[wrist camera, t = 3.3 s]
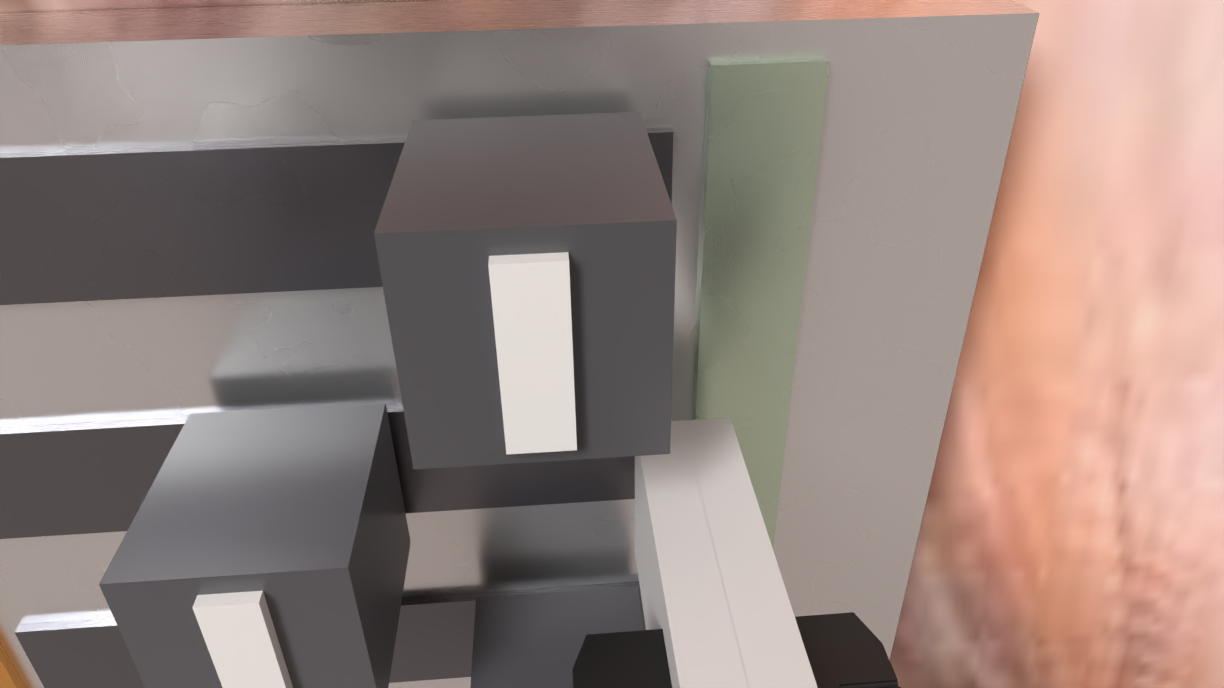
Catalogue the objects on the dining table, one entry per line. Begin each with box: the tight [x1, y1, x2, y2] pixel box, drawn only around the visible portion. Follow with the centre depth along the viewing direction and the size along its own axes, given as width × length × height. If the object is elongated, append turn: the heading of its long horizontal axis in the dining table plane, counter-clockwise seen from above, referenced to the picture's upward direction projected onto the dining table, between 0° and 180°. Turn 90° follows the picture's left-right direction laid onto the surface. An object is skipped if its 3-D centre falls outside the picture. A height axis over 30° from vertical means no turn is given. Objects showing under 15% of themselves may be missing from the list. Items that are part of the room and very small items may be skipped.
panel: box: [0, 0, 1039, 688], centre depth 16 cm, size 22×14×2 cm, turn 91°
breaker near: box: [374, 112, 677, 469], centre depth 11 cm, size 3×3×4 cm
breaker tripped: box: [99, 403, 411, 688], centre depth 13 cm, size 3×3×4 cm
